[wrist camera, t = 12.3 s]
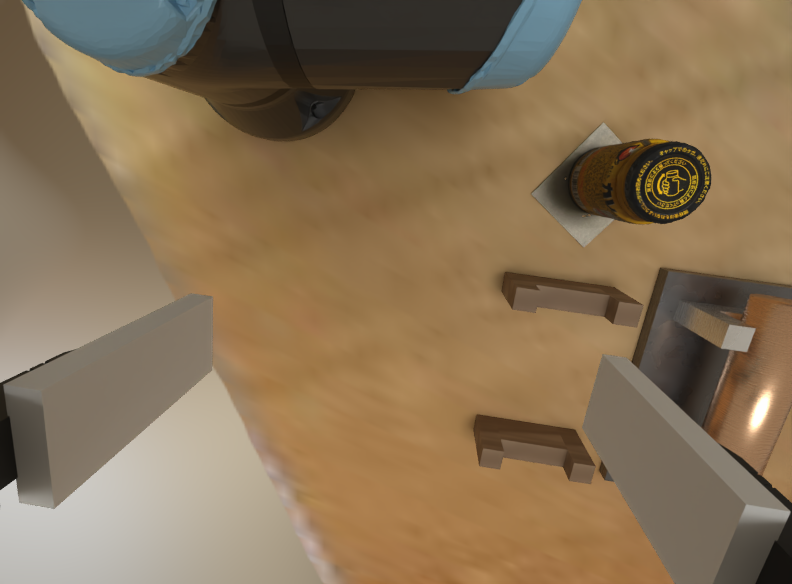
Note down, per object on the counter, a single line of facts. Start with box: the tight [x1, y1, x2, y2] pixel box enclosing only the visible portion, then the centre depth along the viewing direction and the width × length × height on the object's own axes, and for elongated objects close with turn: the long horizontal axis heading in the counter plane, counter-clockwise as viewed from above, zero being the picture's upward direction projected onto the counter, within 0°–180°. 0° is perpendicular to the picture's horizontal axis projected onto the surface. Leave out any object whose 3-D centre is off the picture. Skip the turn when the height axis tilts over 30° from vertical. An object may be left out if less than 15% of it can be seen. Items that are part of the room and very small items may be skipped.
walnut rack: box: [474, 272, 644, 484], centre depth 41 cm, size 18×11×6 cm, turn 173°
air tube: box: [701, 294, 792, 476], centre depth 37 cm, size 22×5×5 cm, turn 173°
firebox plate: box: [599, 268, 792, 482], centre depth 39 cm, size 23×14×8 cm, turn 173°
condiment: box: [532, 123, 711, 247], centre depth 34 cm, size 7×8×12 cm
